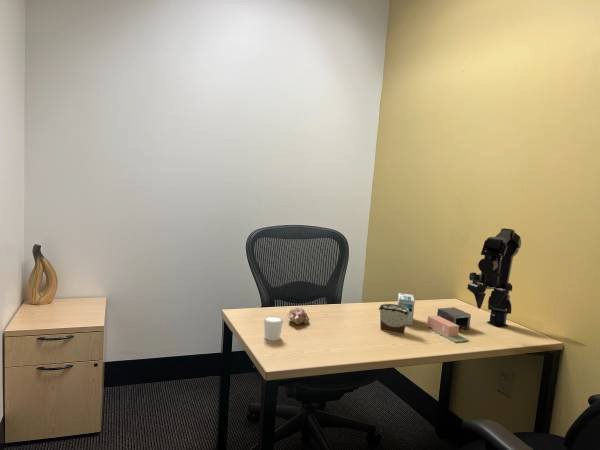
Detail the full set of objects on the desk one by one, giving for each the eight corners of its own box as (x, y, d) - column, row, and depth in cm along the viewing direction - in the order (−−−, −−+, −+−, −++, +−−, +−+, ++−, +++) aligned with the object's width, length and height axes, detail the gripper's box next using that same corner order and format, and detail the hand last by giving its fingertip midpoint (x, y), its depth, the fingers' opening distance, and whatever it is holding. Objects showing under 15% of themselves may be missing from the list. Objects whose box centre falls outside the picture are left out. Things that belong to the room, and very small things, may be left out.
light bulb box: (412, 325, 195) (415, 300, 194) (396, 323, 196) (398, 298, 195) (411, 318, 205) (414, 294, 204) (396, 316, 207) (398, 292, 205)
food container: (410, 331, 188) (413, 307, 187) (407, 335, 182) (409, 310, 181) (380, 324, 193) (382, 301, 192) (376, 329, 187) (379, 305, 186)
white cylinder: (267, 341, 165) (268, 322, 164) (260, 335, 171) (261, 316, 170) (284, 339, 168) (286, 321, 168) (276, 333, 174) (278, 315, 174)
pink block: (436, 324, 197) (437, 315, 196) (458, 335, 185) (459, 325, 184) (427, 325, 195) (428, 316, 194) (448, 336, 183) (449, 326, 182)
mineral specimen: (315, 323, 185) (308, 309, 182) (300, 333, 183) (292, 320, 181) (304, 313, 196) (297, 300, 193) (289, 323, 194) (282, 310, 192)
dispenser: (452, 321, 204) (453, 307, 204) (469, 329, 195) (470, 314, 195) (436, 323, 201) (437, 308, 200) (452, 331, 192) (454, 315, 191)
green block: (443, 329, 193) (443, 327, 193) (468, 341, 181) (468, 339, 181) (431, 330, 191) (431, 328, 191) (455, 342, 178) (455, 341, 178)
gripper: (493, 264, 196) (489, 300, 198) (459, 265, 188) (455, 303, 190) (515, 270, 186) (510, 308, 188) (480, 272, 178) (475, 311, 180)
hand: (487, 307), depth 187 cm, fingers open, 9 cm apart
